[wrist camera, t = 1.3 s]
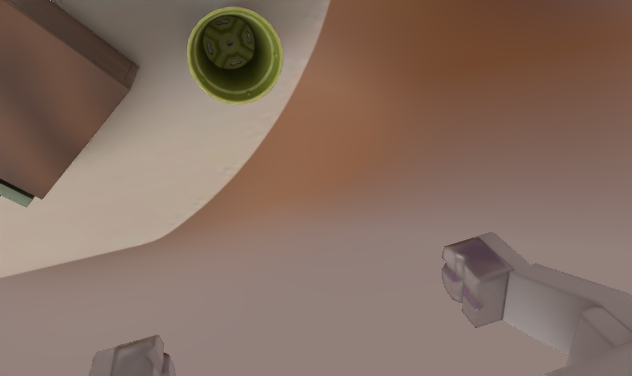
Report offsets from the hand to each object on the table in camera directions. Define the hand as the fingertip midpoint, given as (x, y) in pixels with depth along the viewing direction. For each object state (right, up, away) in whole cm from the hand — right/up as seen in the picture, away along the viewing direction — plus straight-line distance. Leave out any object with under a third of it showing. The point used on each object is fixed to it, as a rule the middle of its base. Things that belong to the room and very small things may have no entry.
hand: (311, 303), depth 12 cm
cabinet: (-29, +15, +34) cm, 47 cm away
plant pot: (-10, +20, +37) cm, 43 cm away
